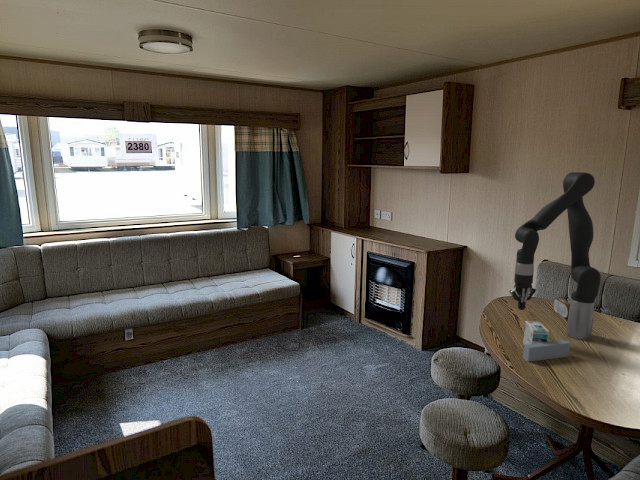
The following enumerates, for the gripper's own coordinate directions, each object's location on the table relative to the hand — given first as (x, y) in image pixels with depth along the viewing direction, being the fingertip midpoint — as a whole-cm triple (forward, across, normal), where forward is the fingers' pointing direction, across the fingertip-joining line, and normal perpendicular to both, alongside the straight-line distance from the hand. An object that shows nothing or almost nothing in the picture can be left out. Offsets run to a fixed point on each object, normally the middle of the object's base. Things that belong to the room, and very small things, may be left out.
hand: (521, 309), depth 194 cm
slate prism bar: (+13, +4, +20) cm, 24 cm away
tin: (+14, -41, -17) cm, 46 cm away
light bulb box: (+13, +3, +13) cm, 19 cm away
